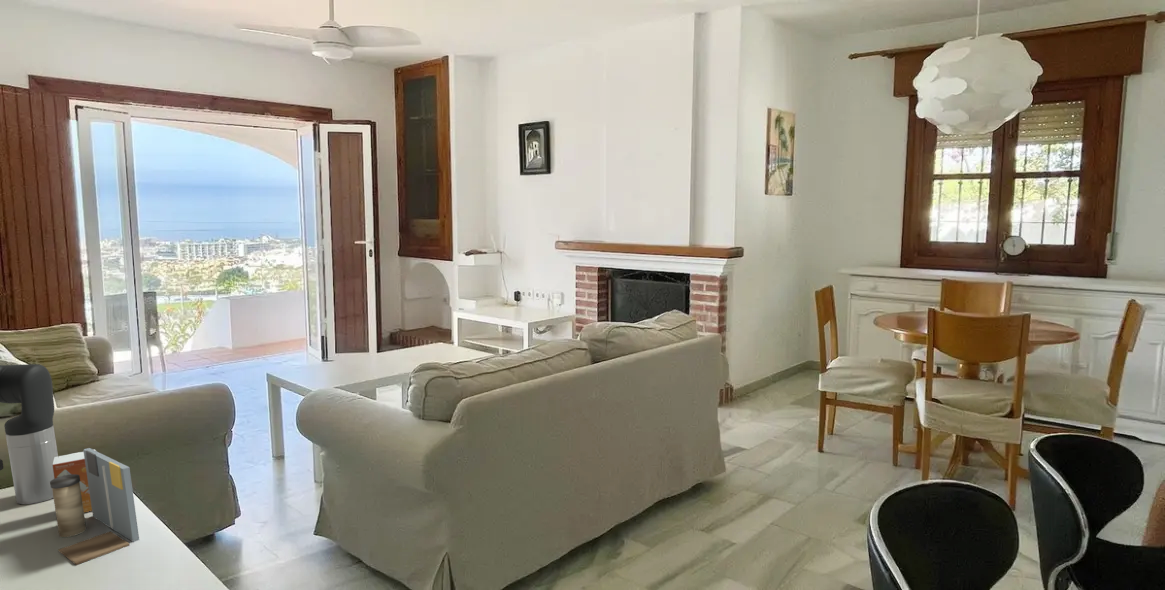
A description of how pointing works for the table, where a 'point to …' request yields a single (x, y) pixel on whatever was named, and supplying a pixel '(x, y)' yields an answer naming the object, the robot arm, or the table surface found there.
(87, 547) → the walnut pad
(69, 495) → the post
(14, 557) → the table surface
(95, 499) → the panel
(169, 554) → the table surface
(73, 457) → the small box
